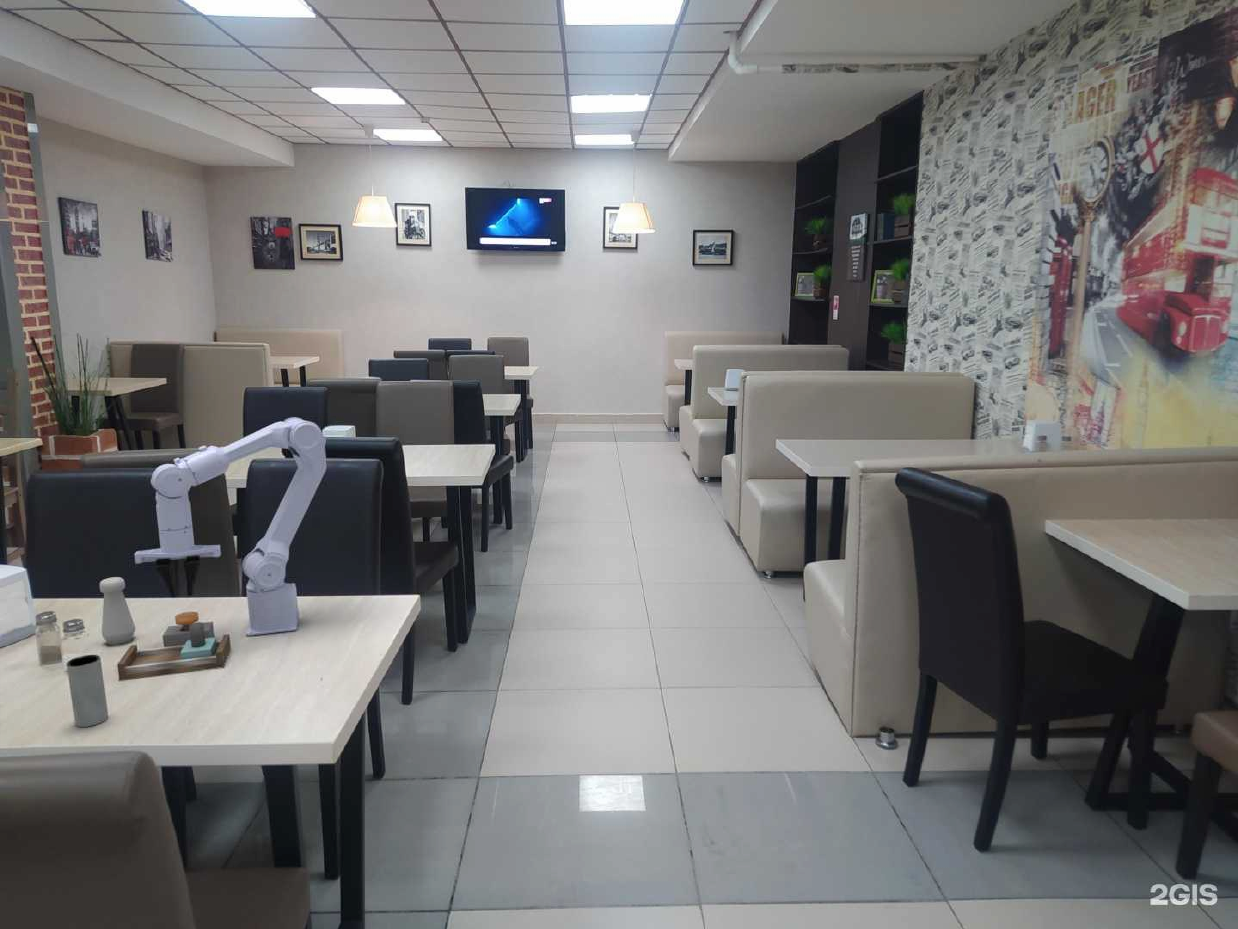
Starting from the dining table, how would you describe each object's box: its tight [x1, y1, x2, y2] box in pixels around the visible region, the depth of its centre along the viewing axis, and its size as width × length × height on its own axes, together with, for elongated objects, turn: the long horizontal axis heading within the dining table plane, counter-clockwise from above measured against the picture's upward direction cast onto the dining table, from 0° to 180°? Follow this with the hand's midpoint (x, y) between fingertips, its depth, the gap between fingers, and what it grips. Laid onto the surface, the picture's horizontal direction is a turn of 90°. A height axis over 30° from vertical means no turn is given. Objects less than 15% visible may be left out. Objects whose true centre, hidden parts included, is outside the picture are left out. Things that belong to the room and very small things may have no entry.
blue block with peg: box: [180, 621, 217, 660], centre depth 155 cm, size 5×6×6 cm
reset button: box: [174, 611, 200, 631], centre depth 162 cm, size 4×4×4 cm
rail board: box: [116, 633, 232, 681], centre depth 154 cm, size 17×9×3 cm, turn 107°
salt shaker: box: [99, 576, 136, 646], centre depth 165 cm, size 6×6×13 cm
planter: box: [66, 654, 109, 728], centre depth 132 cm, size 4×4×10 cm
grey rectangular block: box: [162, 621, 215, 647], centre depth 163 cm, size 8×5×4 cm, turn 107°
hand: (182, 595), depth 161 cm, fingers open, 2 cm apart
